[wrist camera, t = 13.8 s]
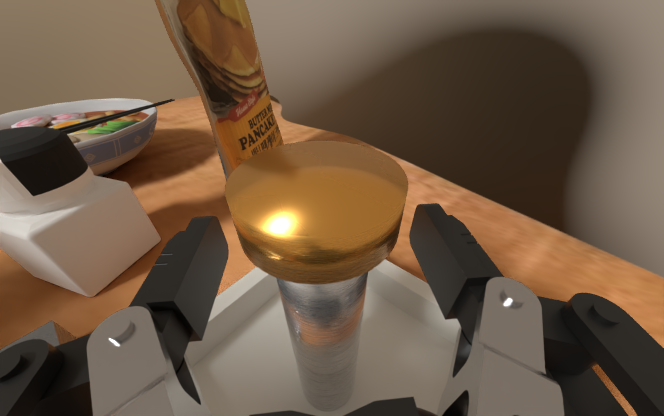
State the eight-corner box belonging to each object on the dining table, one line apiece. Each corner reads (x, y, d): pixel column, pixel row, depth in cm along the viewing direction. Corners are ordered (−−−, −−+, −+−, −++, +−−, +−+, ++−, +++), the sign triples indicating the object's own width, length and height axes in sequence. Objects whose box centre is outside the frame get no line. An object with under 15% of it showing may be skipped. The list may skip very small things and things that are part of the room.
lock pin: (273, 384, 15) (188, 181, 6) (324, 325, 18) (313, 130, 9) (332, 452, 12) (326, 277, 4) (381, 372, 15) (438, 168, 7)
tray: (138, 401, 15) (105, 379, 13) (319, 248, 24) (317, 221, 22) (359, 872, 7) (370, 1037, 4) (499, 363, 16) (524, 338, 14)
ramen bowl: (126, 130, 50) (102, 86, 45) (212, 149, 43) (196, 99, 38) (-68, 196, 32) (-143, 135, 27) (24, 248, 25) (-55, 177, 20)
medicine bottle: (112, 226, 27) (30, 114, 20) (164, 240, 25) (94, 123, 18) (34, 278, 22) (-118, 151, 15) (92, 300, 20) (-48, 169, 13)
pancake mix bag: (198, 212, 29) (0, -244, 12) (257, 145, 44) (208, -100, 27) (253, 216, 28) (128, -262, 11) (294, 147, 43) (268, -104, 26)
